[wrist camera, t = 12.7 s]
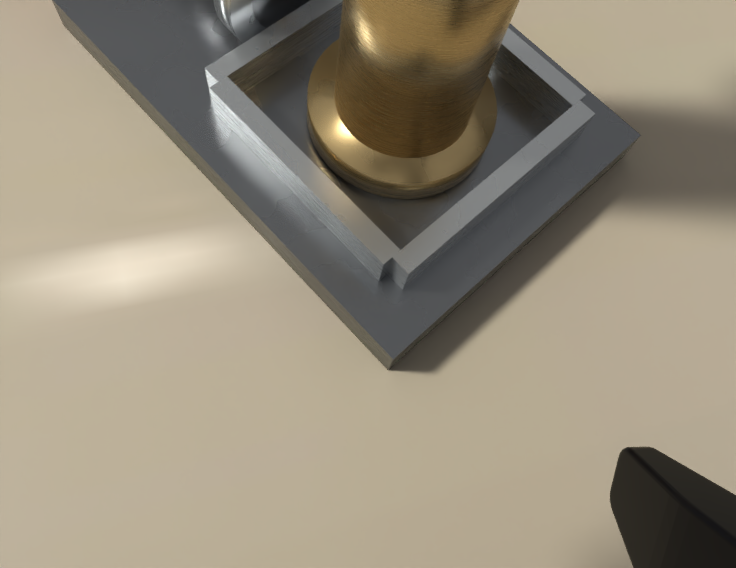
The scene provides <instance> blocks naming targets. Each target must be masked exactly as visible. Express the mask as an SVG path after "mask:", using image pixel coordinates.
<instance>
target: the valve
mask: <svg viewBox="0 0 736 568" xmlns="http://www.w3.org/2000/svg"><path fill="white" fill-rule="evenodd" d="M518 2H519V0H343V2H342V13H341V25H340V36H339V39H338V40H336V41H335V42H333V43H332V44H331V45H330V46H329V47H328V48H327V49H326V50H325V51H324V52H323V53H322V55H321V56H320V57H319V59H318V60H317V62H316V64H315V65H314V67H313V70H312V73H311V75H310V79H309V83H308V94H307V123H308V129H309V133H310V137H311V139H312V141H313V144H314V146H315V148H316V150H317V151H318V153H319V155H320V156H321V158H322V159H323V160H324V161H325V163H326V164H327V165H328V166H329V167H330V168H331V169H332V170H333V171H334V172H335V173H336V174H337V175H339V176H340V177H341V178H343V179H344V180H346V181H347V182H349V183H350V184H352V185H354V186H356V187H357V188H360V189H362V190H365V191H367V192H369V193H373V194H376V195H380V196H384V197H390V198H400V199H412V198H422V197H427V196H432V195H435V194H438V193H441V192H443V191H446V190H448V189H450V188H452V187H453V186H455V185H457V184H458V183H460V182H461V181H462V180H464V179H465V178H466V177H467V176H468V175H469V174H470V173H471V172H472V171H473V170H474V168H475V167H476V166H477V164H478V163H479V161H480V159H481V158H482V156H483V154H484V152H485V150H486V148H487V146H488V143H489V141H490V139H491V137H492V134H493V132H494V129H495V125H496V120H497V101H496V96H495V92H494V89H493V86H492V83H491V81H490V79H489V77H488V74H489V72H490V70H491V67H492V65H493V62H494V60H495V58H496V55H497V53H498V50H499V48H500V46H501V43H502V41H503V38H504V36H505V34H506V31H507V29H508V26H509V24H510V22H511V19H512V17H513V14H514V12H515V9H516V7H517V5H518Z"/></svg>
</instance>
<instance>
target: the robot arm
mask: <svg viewBox="0 0 736 568" xmlns="http://www.w3.org/2000/svg"><path fill="white" fill-rule="evenodd" d="M610 503H611V508H612V511H613V514H614V516H615V519H616V522H617V524H618V527H619V530H620V533H621V535H622V538H623V541H624V543H625V546H626V549H627V552H628V554H629V557H630V560H631V562H632V565H633V568H736V495H734V494H733V493H731V492H729V491H727V490H726V489H724V488H722V487H720V486H719V485H717V484H715V483H713V482H712V481H710V480H708V479H707V478H705V477H703V476H701V475H700V474H698V473H696V472H694V471H693V470H691V469H689V468H687V467H686V466H684V465H682V464H680V463H679V462H677V461H675V460H673V459H672V458H670V457H668V456H667V455H665V454H663V453H661V452H660V451H658V450H656V449H654V448H652V447H627V448H625V449H623V450H622V451H621V453H620V455H619V458H618V462H617V466H616V470H615V474H614V478H613V482H612V486H611V491H610Z"/></svg>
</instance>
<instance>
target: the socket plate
mask: <svg viewBox="0 0 736 568" xmlns="http://www.w3.org/2000/svg"><path fill="white" fill-rule="evenodd" d="M52 1H53V3H54V5H55V8H56V10H57V12H58V14H59V16H60V18H61V20H62V23H63V25H64V26H65V27H66V28H67V29H68V30H69V31H70V32H71V34H72V35H73V36H74V37H75V38H76V39H77V40H78V41H79V42H80V43H81V44H82V45H83V46H84V47H85V48H86V49H87V51H88V52H89V53H90V54H91V55H92V56H93V57H94V58H95V59H96V60H97V61H98V62H99V63H100V64H101V65H102V66H103V68H104V69H105V70H106V71H107V72H108V73H109V74H110V75H111V76H112V77H113V78H114V79H115V80H116V81H117V82H118V84H119V85H120V86H121V87H122V88H123V89H124V90H125V91H126V92H127V93H128V94H129V95H130V96H131V97H132V98H133V99H134V101H135V102H136V103H137V104H138V105H139V106H140V107H141V108H142V109H143V110H144V111H145V112H146V113H147V114H148V115H149V116H150V118H151V119H152V120H153V121H154V122H155V123H156V124H157V125H158V126H159V127H160V128H161V129H162V130H163V131H164V132H165V133H166V135H167V136H168V137H169V138H170V139H171V140H172V141H173V142H174V143H175V144H176V145H177V146H178V147H179V148H180V149H181V151H182V152H183V153H184V154H185V155H186V156H187V157H188V158H189V159H190V160H191V161H192V162H193V163H194V164H195V165H196V166H197V168H198V169H199V170H200V171H201V172H202V173H203V174H204V175H205V176H206V177H207V178H208V179H209V180H210V181H211V182H212V183H213V185H214V186H215V187H216V188H217V189H218V190H219V191H220V192H221V193H222V194H223V195H224V196H225V197H226V198H227V199H228V200H229V202H230V203H231V204H232V205H233V206H234V207H235V208H236V209H237V210H238V211H239V212H240V213H241V214H242V215H243V216H244V218H245V219H246V220H247V221H248V222H249V223H250V224H251V225H252V226H253V227H254V228H255V229H256V230H257V231H258V232H259V233H260V235H261V236H262V237H263V238H264V239H265V240H266V241H267V242H268V243H269V244H270V245H271V246H272V247H273V248H274V249H275V250H276V252H277V253H278V254H279V255H280V256H281V257H282V258H283V259H284V260H285V261H286V262H287V263H288V264H289V265H290V266H291V267H292V269H293V270H294V271H295V272H296V273H297V274H298V275H299V276H300V277H301V278H302V279H303V280H304V281H305V282H306V283H307V285H308V286H309V287H310V288H311V289H312V290H313V291H314V292H315V293H316V294H317V295H318V296H319V297H320V298H321V299H322V300H323V302H324V303H325V304H326V305H327V306H328V307H329V308H330V309H331V310H332V311H333V312H334V313H335V314H336V315H337V316H338V317H339V319H340V320H341V321H342V322H343V323H344V324H345V325H346V326H347V327H348V328H349V329H350V330H351V331H352V332H353V333H354V334H355V336H356V337H357V338H358V339H359V340H360V341H361V342H362V343H363V344H364V345H365V346H366V347H367V348H368V349H369V350H370V352H371V353H372V354H373V355H374V356H375V357H376V358H377V359H378V360H379V361H380V362H381V363H382V364H383V365H384V366H385V367H386V369H387V370H388V369H390V368H391V367H392V366H393V365H394V364H395V363H396V362H397V361H398V360H399V359H401V358H402V357H403V356H404V355H405V354H406V353H407V352H408V351H409V350H410V349H412V348H413V347H414V346H415V345H416V344H417V343H418V342H419V341H420V340H421V339H423V338H424V337H425V336H426V335H427V334H428V333H429V332H430V331H431V330H432V329H434V328H435V327H436V326H437V325H438V324H439V323H440V322H441V321H442V320H443V319H445V318H446V317H447V316H448V315H449V314H450V313H451V312H452V311H453V310H454V309H456V308H457V307H458V306H459V305H460V304H461V303H462V302H463V301H464V300H465V299H467V298H468V297H469V296H470V295H471V294H472V293H473V292H474V291H475V290H476V289H478V288H479V287H480V286H481V285H482V284H483V283H484V282H485V281H486V280H487V279H489V278H490V277H491V276H492V275H493V274H494V273H495V272H496V271H497V270H498V269H500V268H501V267H502V266H503V265H504V264H505V263H506V262H507V261H508V260H509V259H511V258H512V257H513V256H514V255H515V254H516V253H517V252H518V251H519V250H520V249H522V248H523V247H524V246H525V245H526V244H527V243H528V242H529V241H530V240H531V239H533V238H534V237H535V236H536V235H537V234H538V233H539V232H540V231H541V230H542V229H544V228H545V227H546V226H547V225H548V224H549V223H550V222H551V221H552V220H553V219H555V218H556V217H557V216H558V215H559V214H560V213H561V212H562V211H563V210H564V209H566V208H567V207H568V206H569V205H570V204H571V203H572V202H573V201H574V200H575V199H577V198H578V197H579V196H580V195H581V194H582V193H583V192H584V191H585V190H586V189H588V188H589V187H590V186H591V185H592V184H593V183H594V182H595V181H596V180H597V179H599V178H600V177H601V176H602V175H603V174H604V173H605V172H606V171H607V170H608V169H610V168H611V167H612V166H613V165H614V164H615V163H616V162H617V161H618V160H619V159H621V158H622V157H623V156H624V155H625V154H626V152H627V151H628V150H629V149H630V147H631V146H632V145H633V144H634V143H635V141H636V140H637V139H638V138H639V137H640V134H639V133H637V132H636V131H635V130H634V129H633V128H632V127H630V126H629V125H628V124H627V123H626V122H625V121H623V120H622V119H621V118H620V117H619V116H618V115H616V114H615V113H614V112H613V111H612V110H611V109H609V108H608V107H607V106H606V105H605V104H604V103H602V102H601V101H600V100H599V99H598V98H597V97H595V96H594V95H593V94H592V93H591V92H590V91H588V90H587V89H586V88H585V87H584V86H583V85H581V84H580V83H579V82H578V81H577V80H576V79H574V78H573V77H572V76H571V75H570V74H569V73H567V72H566V71H565V70H564V69H563V68H561V67H560V66H559V65H558V64H557V63H556V62H554V61H553V60H552V59H551V58H550V57H549V56H547V55H546V54H545V53H544V52H543V51H542V50H540V49H539V48H538V47H537V46H536V45H535V44H533V43H532V42H531V41H530V40H529V39H528V38H526V37H525V36H524V35H523V34H522V33H521V32H519V31H518V30H517V29H516V28H515V27H514V26H512V25H511V24H509V26H508V29H507V31H506V34H505V36H504V38H503V41H502V43H501V46H500V48H499V50H498V53H497V55H496V58H495V60H494V62H493V65H492V67H491V70H490V72H489V74H488V77H489V79H490V81H491V83H492V86H493V89H494V92H495V96H496V101H497V120H496V125H495V129H494V132H493V134H492V137H491V139H490V141H489V143H488V146H487V148H486V150H485V152H484V154H483V156H482V158H481V159H480V161H479V163H478V164H477V166H476V167H475V168H474V170H473V171H472V172H471V173H470V174H469V175H468V176H467V177H466V178H465V179H464V180H462V181H461V182H460V183H458V184H457V185H455V186H453V187H452V188H450V189H448V190H446V191H443V192H441V193H438V194H435V195H432V196H427V197H422V198H412V199H400V198H390V197H384V196H380V195H376V194H373V193H369V192H367V191H365V190H362V189H360V188H357V187H356V186H354V185H352V184H350V183H349V182H347V181H346V180H344V179H343V178H341V177H340V176H339V175H337V174H336V173H335V172H334V171H333V170H332V169H331V168H330V167H329V166H328V165H327V164H326V163H325V161H324V160H323V159H322V158H321V156H320V155H319V153H318V151H317V150H316V148H315V146H314V144H313V141H312V139H311V137H310V133H309V129H308V123H307V94H308V83H309V79H310V75H311V73H312V70H313V67H314V65H315V64H316V62H317V60H318V59H319V57H320V56H321V55H322V53H323V52H324V51H325V50H326V49H327V48H328V47H329V46H330V45H331V44H332V43H333V42H335V41H336V40H338V39H339V36H340V25H341V13H342V2H343V0H52Z"/></svg>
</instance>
